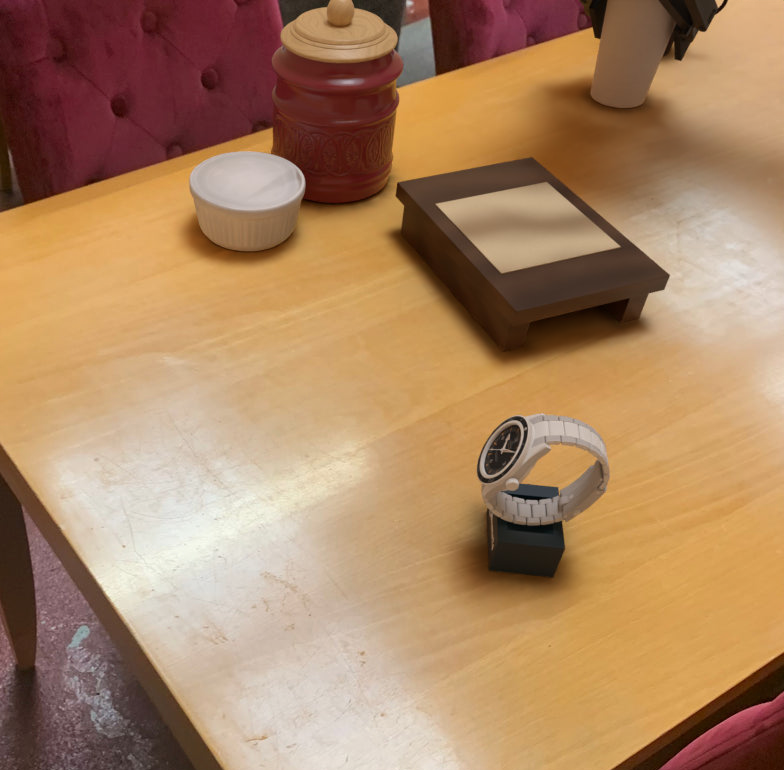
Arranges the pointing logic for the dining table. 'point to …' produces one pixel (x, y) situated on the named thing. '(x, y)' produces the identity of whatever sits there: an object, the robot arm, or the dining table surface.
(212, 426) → the dining table surface
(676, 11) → the robot arm
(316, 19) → the kitchen canister
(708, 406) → the dining table surface
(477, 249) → the wooden riser stand
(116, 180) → the dining table surface
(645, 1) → the coffee cup
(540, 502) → the watch
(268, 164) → the ramekin
